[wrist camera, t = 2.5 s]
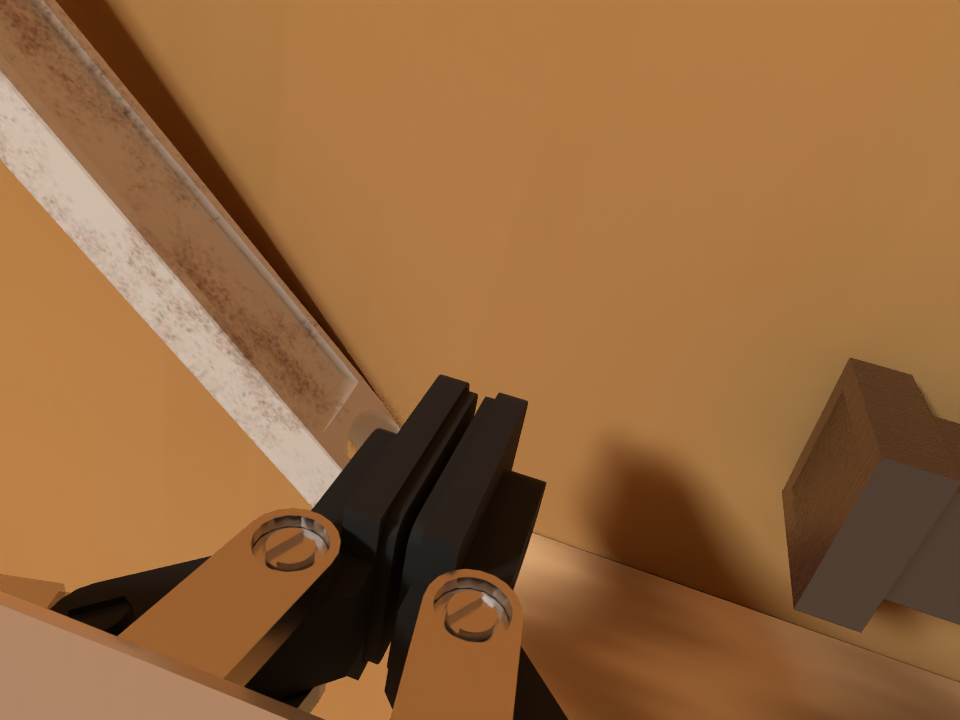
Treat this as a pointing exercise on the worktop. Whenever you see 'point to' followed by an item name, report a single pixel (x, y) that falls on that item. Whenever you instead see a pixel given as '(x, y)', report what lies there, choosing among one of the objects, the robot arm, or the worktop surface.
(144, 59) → the worktop surface
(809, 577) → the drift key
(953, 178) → the worktop surface
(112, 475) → the worktop surface
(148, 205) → the wrench
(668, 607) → the rack
